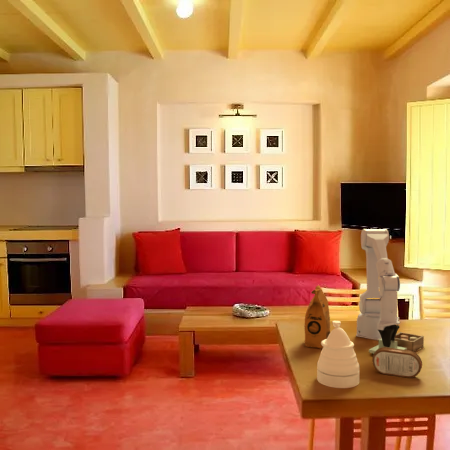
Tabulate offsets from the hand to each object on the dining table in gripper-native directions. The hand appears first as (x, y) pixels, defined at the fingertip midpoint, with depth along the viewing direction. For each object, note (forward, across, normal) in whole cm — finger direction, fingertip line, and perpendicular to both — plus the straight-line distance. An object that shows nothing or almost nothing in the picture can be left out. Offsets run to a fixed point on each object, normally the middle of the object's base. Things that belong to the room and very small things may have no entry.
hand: (388, 345), depth 182 cm
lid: (+2, 0, 0) cm, 2 cm away
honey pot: (+3, -35, +1) cm, 35 cm away
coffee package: (+3, -6, +26) cm, 27 cm away
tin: (+3, -19, -11) cm, 22 cm away
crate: (+3, +12, -2) cm, 13 cm away
